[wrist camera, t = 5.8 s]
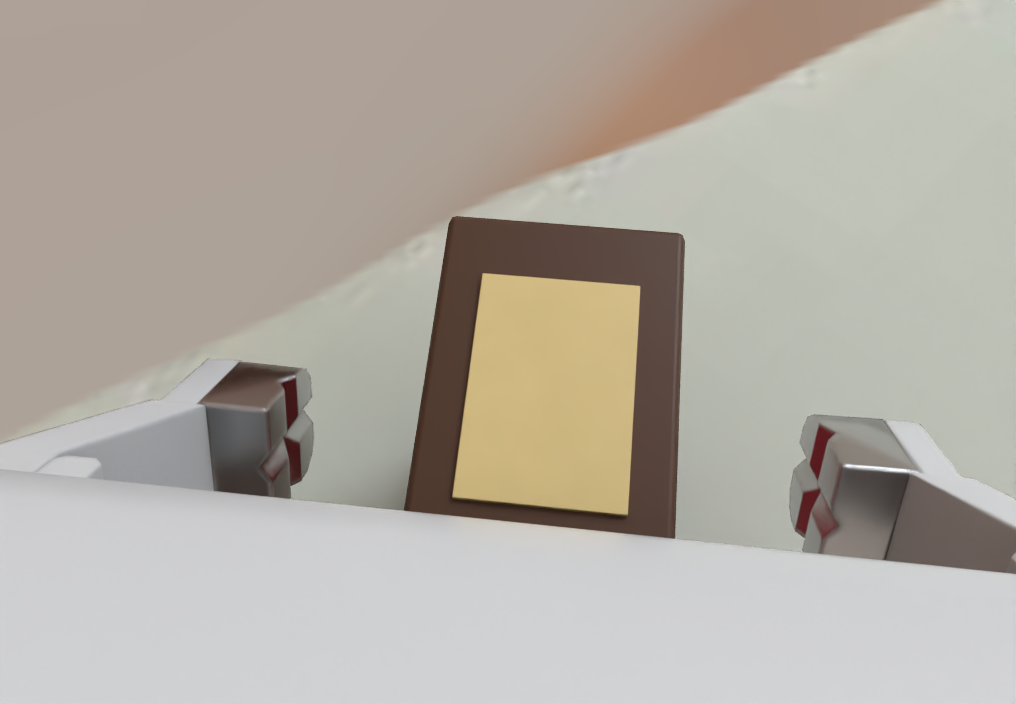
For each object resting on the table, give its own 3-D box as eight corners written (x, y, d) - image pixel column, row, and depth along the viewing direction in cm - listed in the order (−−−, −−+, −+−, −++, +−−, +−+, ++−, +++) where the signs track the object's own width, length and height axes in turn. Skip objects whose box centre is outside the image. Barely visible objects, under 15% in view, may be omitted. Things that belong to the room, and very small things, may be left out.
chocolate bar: (486, 414, 17) (447, 206, 10) (623, 427, 17) (689, 226, 10) (460, 627, 16) (387, 574, 8) (610, 644, 15) (677, 606, 8)
